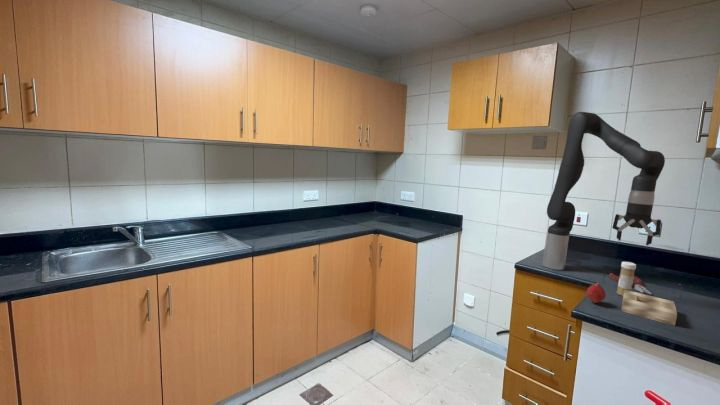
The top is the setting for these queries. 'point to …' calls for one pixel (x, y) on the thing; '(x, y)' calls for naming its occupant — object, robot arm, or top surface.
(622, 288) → the sprinkles bottle
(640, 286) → the pliers
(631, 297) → the holder
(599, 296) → the onion
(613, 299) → the top surface
